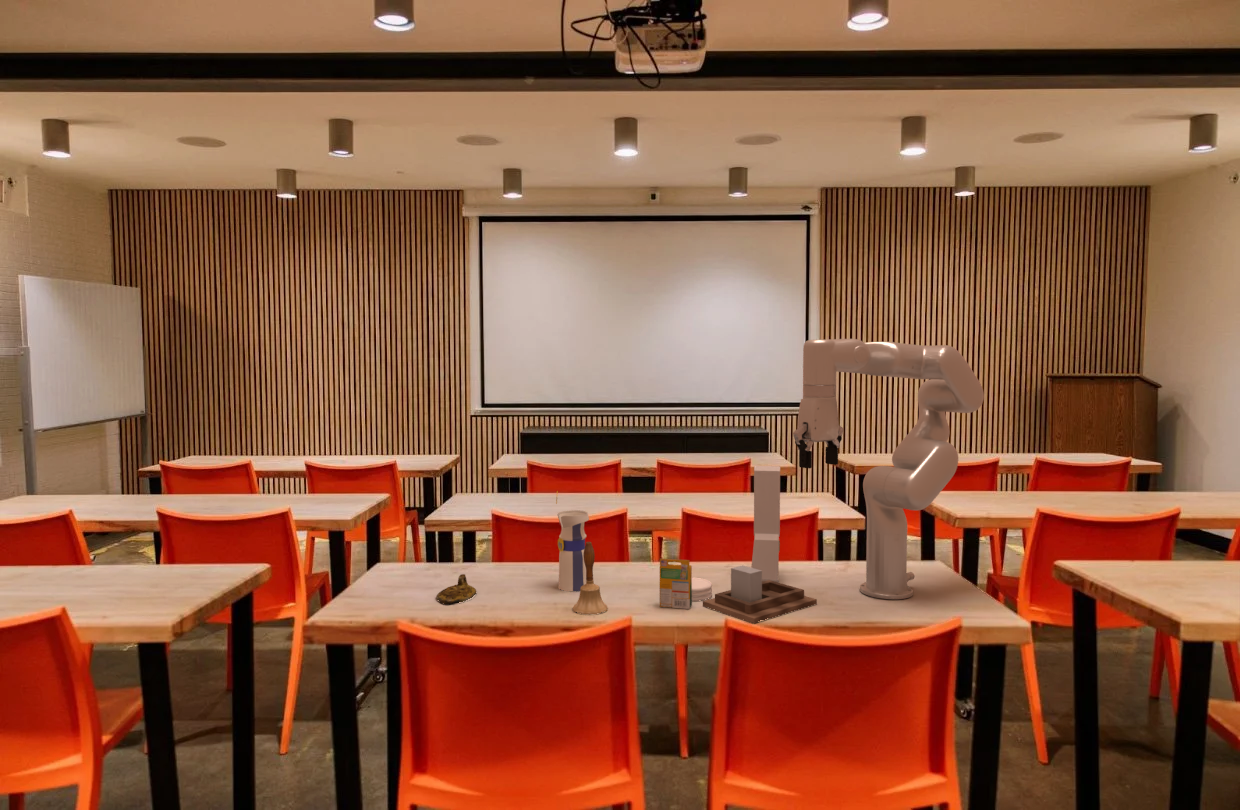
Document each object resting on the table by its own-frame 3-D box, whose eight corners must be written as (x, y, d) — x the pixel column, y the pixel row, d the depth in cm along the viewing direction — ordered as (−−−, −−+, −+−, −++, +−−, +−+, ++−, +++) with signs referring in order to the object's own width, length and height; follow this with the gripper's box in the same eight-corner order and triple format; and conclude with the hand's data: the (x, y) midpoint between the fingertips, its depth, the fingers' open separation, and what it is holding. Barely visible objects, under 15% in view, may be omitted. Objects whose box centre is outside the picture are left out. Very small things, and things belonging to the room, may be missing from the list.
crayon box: (692, 605, 186) (692, 557, 185) (689, 609, 183) (690, 560, 182) (661, 603, 188) (661, 555, 187) (659, 607, 185) (659, 558, 184)
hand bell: (595, 617, 178) (594, 547, 177) (565, 611, 182) (564, 543, 181) (614, 607, 185) (614, 540, 184) (585, 601, 189) (585, 536, 188)
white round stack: (720, 595, 195) (720, 581, 194) (695, 605, 187) (695, 590, 187) (687, 588, 201) (687, 574, 201) (663, 596, 194) (663, 582, 194)
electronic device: (779, 585, 203) (780, 469, 201) (750, 583, 204) (750, 469, 203) (779, 572, 215) (780, 463, 213) (751, 571, 216) (752, 462, 215)
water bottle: (563, 594, 196) (562, 494, 194) (552, 585, 203) (551, 489, 202) (594, 590, 199) (593, 492, 198) (582, 581, 207) (581, 487, 205)
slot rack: (765, 589, 199) (765, 576, 199) (816, 604, 187) (816, 591, 186) (702, 606, 185) (702, 592, 185) (753, 623, 173) (753, 609, 173)
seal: (468, 611, 187) (481, 592, 202) (469, 591, 187) (482, 574, 202) (429, 606, 187) (445, 587, 202) (431, 587, 187) (447, 569, 202)
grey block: (742, 598, 187) (742, 565, 187) (761, 604, 182) (761, 570, 182) (730, 601, 185) (731, 568, 184) (750, 607, 180) (750, 573, 179)
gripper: (829, 391, 191) (828, 461, 192) (782, 393, 180) (781, 467, 181) (855, 392, 185) (854, 464, 186) (808, 394, 174) (808, 471, 175)
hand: (818, 465), depth 183 cm, fingers open, 9 cm apart
